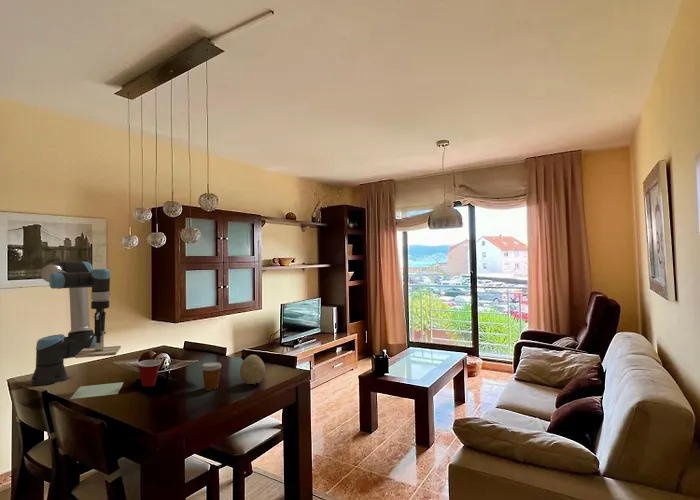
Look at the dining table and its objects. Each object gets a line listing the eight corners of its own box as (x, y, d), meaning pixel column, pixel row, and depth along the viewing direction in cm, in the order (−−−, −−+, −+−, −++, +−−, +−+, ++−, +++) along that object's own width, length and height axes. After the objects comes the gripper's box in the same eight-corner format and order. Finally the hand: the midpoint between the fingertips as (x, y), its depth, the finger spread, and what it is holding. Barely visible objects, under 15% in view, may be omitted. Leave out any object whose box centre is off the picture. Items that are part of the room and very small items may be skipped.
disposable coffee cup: (200, 392, 188) (200, 367, 188) (202, 386, 197) (202, 362, 198) (220, 390, 191) (221, 365, 191) (221, 384, 200) (222, 361, 200)
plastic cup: (150, 389, 191) (151, 365, 191) (131, 388, 193) (132, 364, 194) (165, 383, 202) (166, 359, 202) (147, 381, 204) (147, 358, 204)
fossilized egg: (252, 379, 209) (252, 351, 210) (270, 382, 203) (270, 354, 203) (234, 385, 198) (234, 355, 199) (252, 389, 192) (252, 359, 192)
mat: (80, 387, 194) (80, 386, 194) (123, 383, 201) (123, 382, 201) (69, 400, 176) (69, 399, 176) (117, 394, 184) (117, 393, 184)
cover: (83, 350, 194) (84, 330, 194) (120, 347, 200) (121, 328, 200) (75, 358, 179) (75, 336, 179) (115, 355, 185) (115, 334, 186)
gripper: (106, 301, 184) (105, 351, 184) (112, 298, 199) (111, 344, 198) (87, 302, 181) (86, 352, 181) (95, 298, 196) (93, 345, 196)
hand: (99, 348), depth 190 cm, fingers closed on cover, 3 cm apart
